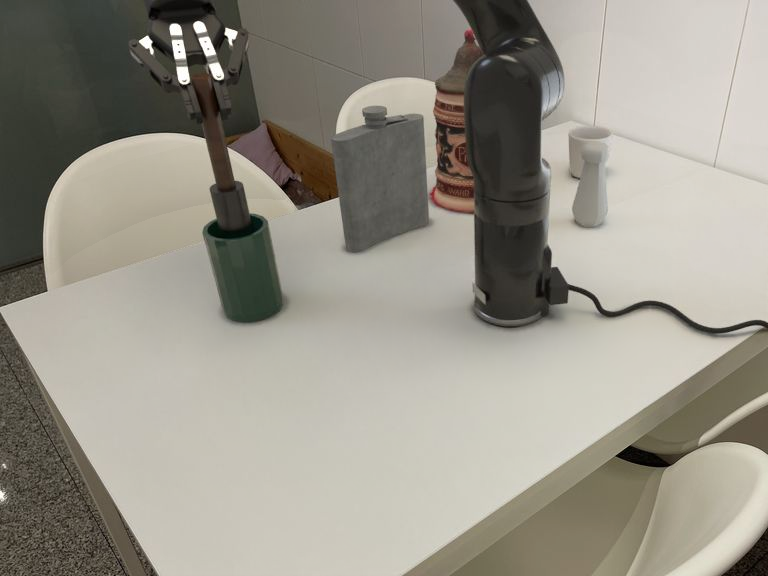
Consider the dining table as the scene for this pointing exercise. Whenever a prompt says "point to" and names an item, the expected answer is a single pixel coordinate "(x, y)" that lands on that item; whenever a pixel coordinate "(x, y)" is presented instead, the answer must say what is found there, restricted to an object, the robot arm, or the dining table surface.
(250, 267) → the green cylindrical holder
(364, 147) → the hip flask
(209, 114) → the bottle brush
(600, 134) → the cup
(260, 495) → the dining table surface
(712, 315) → the dining table surface
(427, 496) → the dining table surface
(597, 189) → the salt shaker
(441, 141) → the beer stein
